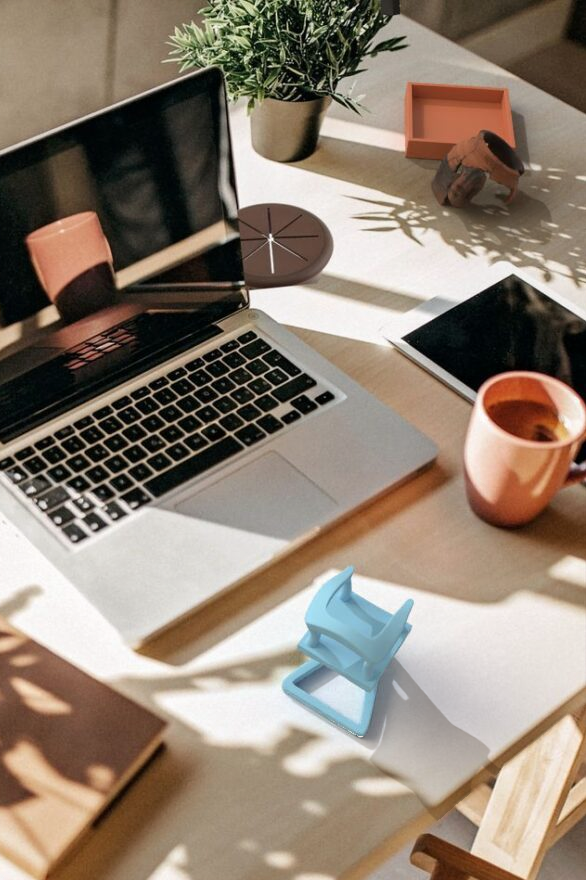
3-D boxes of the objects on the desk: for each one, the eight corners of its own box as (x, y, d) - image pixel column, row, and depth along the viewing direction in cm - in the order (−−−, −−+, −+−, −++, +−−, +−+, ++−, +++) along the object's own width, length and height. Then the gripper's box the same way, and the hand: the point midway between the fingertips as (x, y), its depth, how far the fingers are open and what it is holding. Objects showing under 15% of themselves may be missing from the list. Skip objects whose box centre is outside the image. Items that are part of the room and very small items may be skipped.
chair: (411, 662, 81) (437, 587, 71) (361, 740, 77) (381, 672, 67) (332, 616, 83) (346, 537, 74) (279, 689, 79) (287, 616, 70)
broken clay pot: (435, 166, 122) (480, 113, 116) (491, 216, 123) (538, 166, 117) (411, 197, 113) (458, 142, 108) (471, 251, 114) (521, 199, 109)
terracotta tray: (504, 105, 129) (508, 88, 127) (511, 164, 122) (515, 147, 120) (404, 98, 130) (407, 81, 128) (405, 157, 122) (408, 140, 120)
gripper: (541, -264, 94) (536, -16, 105) (302, -237, 88) (323, 22, 99) (590, -282, 87) (579, -16, 98) (336, -254, 82) (354, 25, 93)
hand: (451, 4), depth 99 cm, fingers open, 13 cm apart
